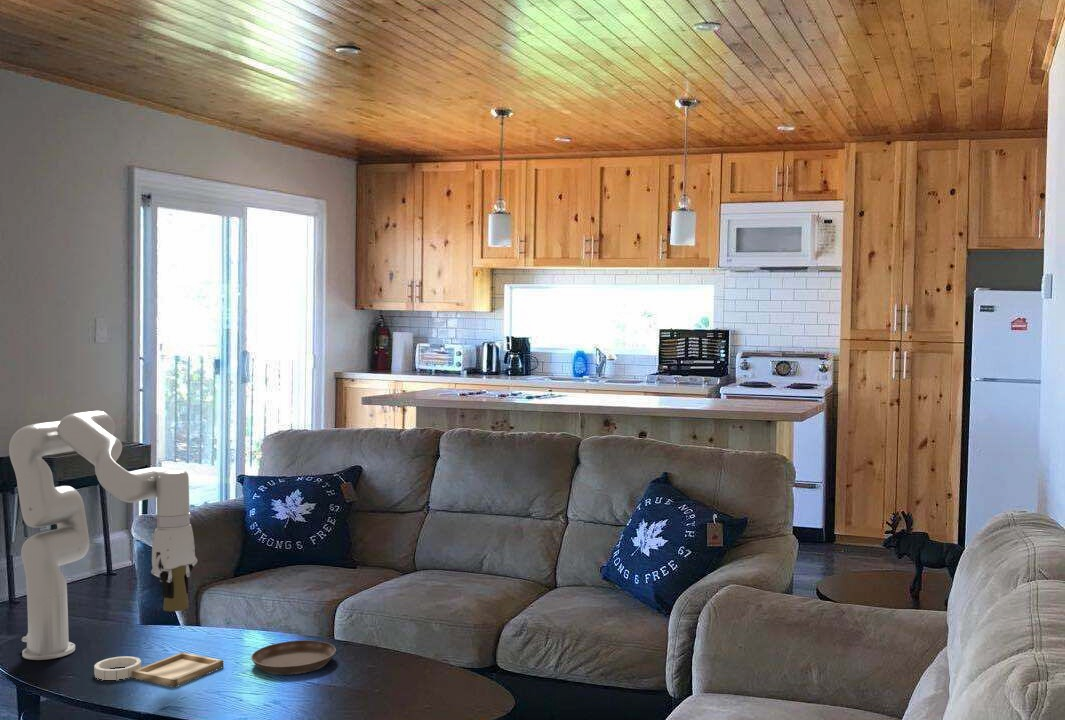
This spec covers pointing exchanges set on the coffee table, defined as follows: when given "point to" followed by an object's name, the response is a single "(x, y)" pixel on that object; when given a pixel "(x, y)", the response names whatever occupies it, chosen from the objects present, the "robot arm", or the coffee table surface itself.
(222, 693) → the coffee table surface
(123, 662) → the holder ring
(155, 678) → the tray
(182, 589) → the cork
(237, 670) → the coffee table surface
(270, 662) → the plant saucer
